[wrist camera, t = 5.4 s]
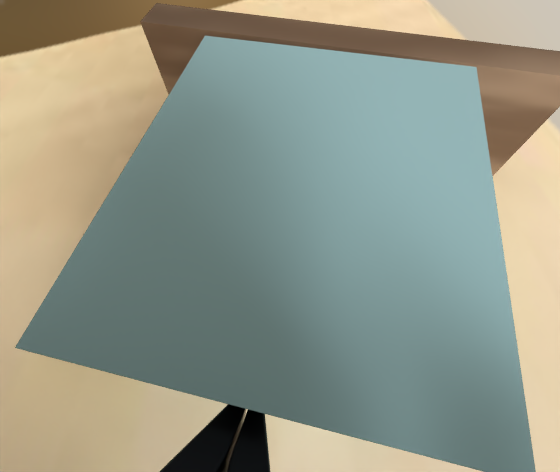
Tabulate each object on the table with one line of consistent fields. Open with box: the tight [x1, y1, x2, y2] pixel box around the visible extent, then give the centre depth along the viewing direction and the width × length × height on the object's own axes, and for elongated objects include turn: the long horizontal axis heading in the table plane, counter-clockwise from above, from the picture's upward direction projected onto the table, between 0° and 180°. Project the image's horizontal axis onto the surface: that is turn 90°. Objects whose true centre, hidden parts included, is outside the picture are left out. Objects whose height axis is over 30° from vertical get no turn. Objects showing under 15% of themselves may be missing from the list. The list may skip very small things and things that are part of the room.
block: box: [15, 36, 536, 472], centre depth 13 cm, size 14×12×8 cm
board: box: [141, 3, 560, 176], centre depth 18 cm, size 2×22×7 cm, turn 76°
